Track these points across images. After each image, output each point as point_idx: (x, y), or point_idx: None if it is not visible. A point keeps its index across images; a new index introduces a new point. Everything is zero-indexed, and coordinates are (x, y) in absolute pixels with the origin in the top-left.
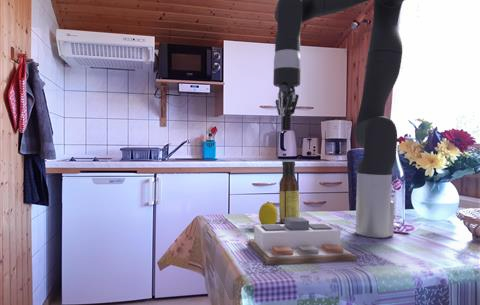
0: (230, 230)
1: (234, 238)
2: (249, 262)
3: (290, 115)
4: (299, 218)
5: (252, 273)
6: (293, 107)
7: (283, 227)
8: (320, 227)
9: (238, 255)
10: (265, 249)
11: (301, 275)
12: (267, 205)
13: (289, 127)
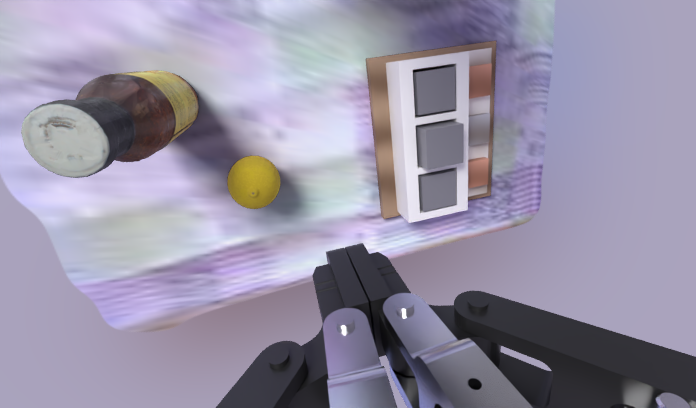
0: (284, 252)
1: (348, 241)
2: (473, 215)
3: (434, 306)
4: (437, 138)
5: (511, 212)
6: (544, 335)
7: (433, 169)
8: (450, 93)
9: (443, 230)
10: None
11: (529, 153)
12: (269, 194)
13: (382, 255)
